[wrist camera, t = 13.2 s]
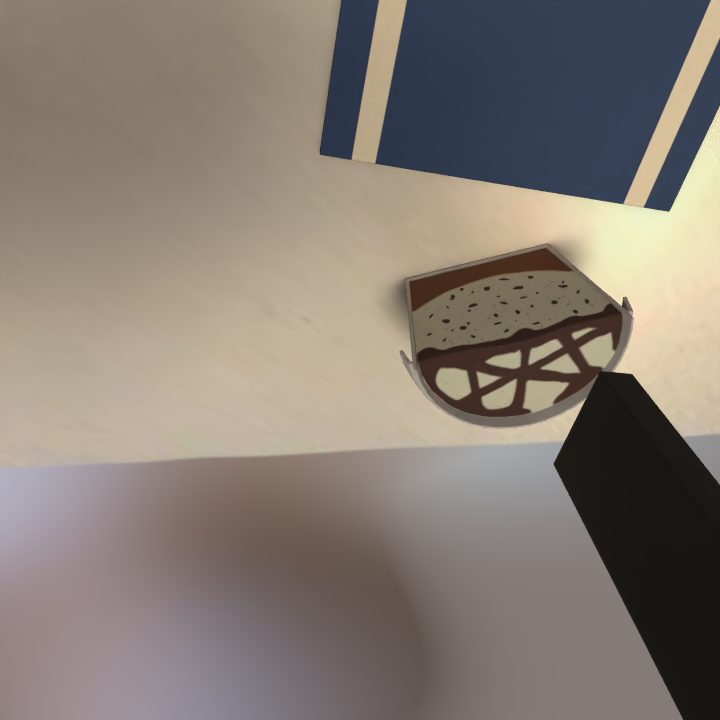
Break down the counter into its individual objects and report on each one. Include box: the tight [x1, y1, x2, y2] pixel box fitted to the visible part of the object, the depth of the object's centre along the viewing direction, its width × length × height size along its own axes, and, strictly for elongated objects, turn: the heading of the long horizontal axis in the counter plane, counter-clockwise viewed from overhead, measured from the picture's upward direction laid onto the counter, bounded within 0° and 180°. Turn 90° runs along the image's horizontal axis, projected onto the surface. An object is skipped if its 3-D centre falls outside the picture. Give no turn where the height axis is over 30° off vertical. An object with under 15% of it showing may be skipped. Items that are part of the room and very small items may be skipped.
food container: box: [400, 244, 634, 429], centre depth 37 cm, size 12×6×10 cm, turn 103°
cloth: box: [320, 0, 720, 212], centre depth 33 cm, size 22×12×1 cm, turn 80°
